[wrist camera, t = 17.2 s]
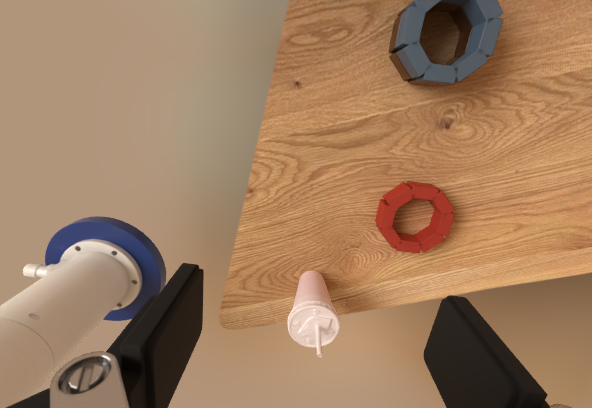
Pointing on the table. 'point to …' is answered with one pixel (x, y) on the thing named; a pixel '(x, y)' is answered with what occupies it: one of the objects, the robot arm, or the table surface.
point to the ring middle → (486, 28)
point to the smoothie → (313, 313)
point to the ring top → (428, 235)
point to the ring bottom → (466, 30)
